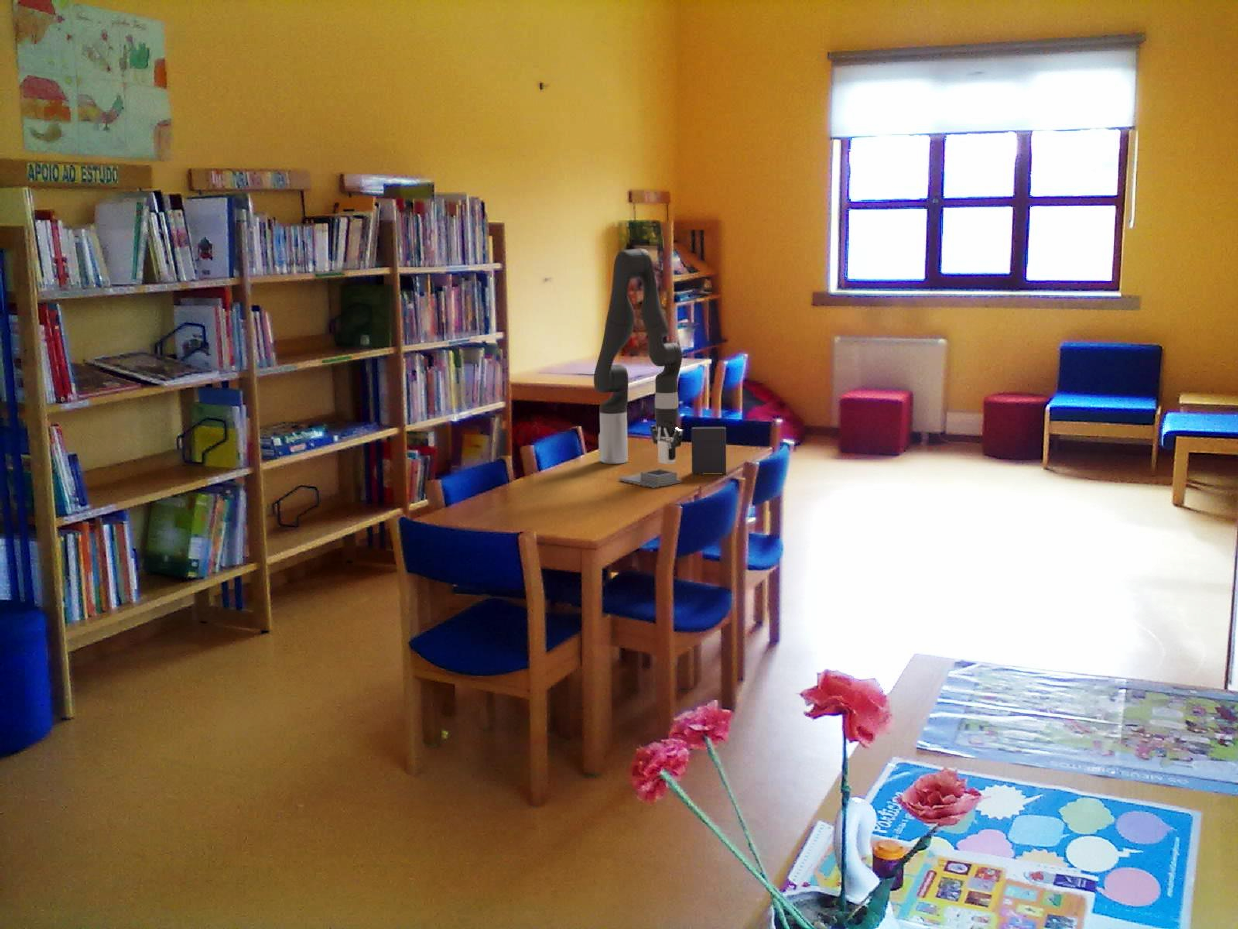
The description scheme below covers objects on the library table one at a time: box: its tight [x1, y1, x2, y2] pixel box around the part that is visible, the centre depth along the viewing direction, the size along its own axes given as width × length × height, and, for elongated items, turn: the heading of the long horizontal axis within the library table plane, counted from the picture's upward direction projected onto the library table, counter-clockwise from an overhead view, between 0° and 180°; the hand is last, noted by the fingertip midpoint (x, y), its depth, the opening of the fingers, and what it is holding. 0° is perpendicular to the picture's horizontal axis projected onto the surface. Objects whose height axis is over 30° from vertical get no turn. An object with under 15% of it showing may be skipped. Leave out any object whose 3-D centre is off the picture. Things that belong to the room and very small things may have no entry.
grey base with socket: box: [618, 468, 682, 489], centre depth 377 cm, size 16×12×4 cm
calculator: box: [690, 426, 727, 475], centre depth 386 cm, size 11×4×15 cm, turn 84°
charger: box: [657, 438, 677, 465], centre depth 386 cm, size 4×4×8 cm
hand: (667, 458), depth 386 cm, fingers closed on charger, 4 cm apart
